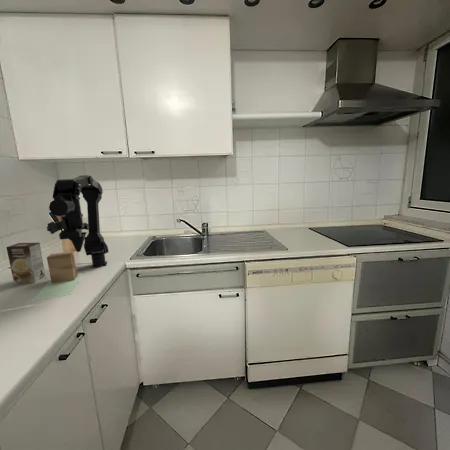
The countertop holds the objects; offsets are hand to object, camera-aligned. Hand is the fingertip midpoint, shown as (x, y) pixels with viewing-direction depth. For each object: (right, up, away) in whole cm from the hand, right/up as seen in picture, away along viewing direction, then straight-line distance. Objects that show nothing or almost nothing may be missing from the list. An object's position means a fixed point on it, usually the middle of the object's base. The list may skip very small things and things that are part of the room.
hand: (78, 251), depth 93 cm
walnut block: (-9, -12, +5) cm, 16 cm away
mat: (-7, -14, 0) cm, 15 cm away
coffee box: (-24, -13, +6) cm, 28 cm away
